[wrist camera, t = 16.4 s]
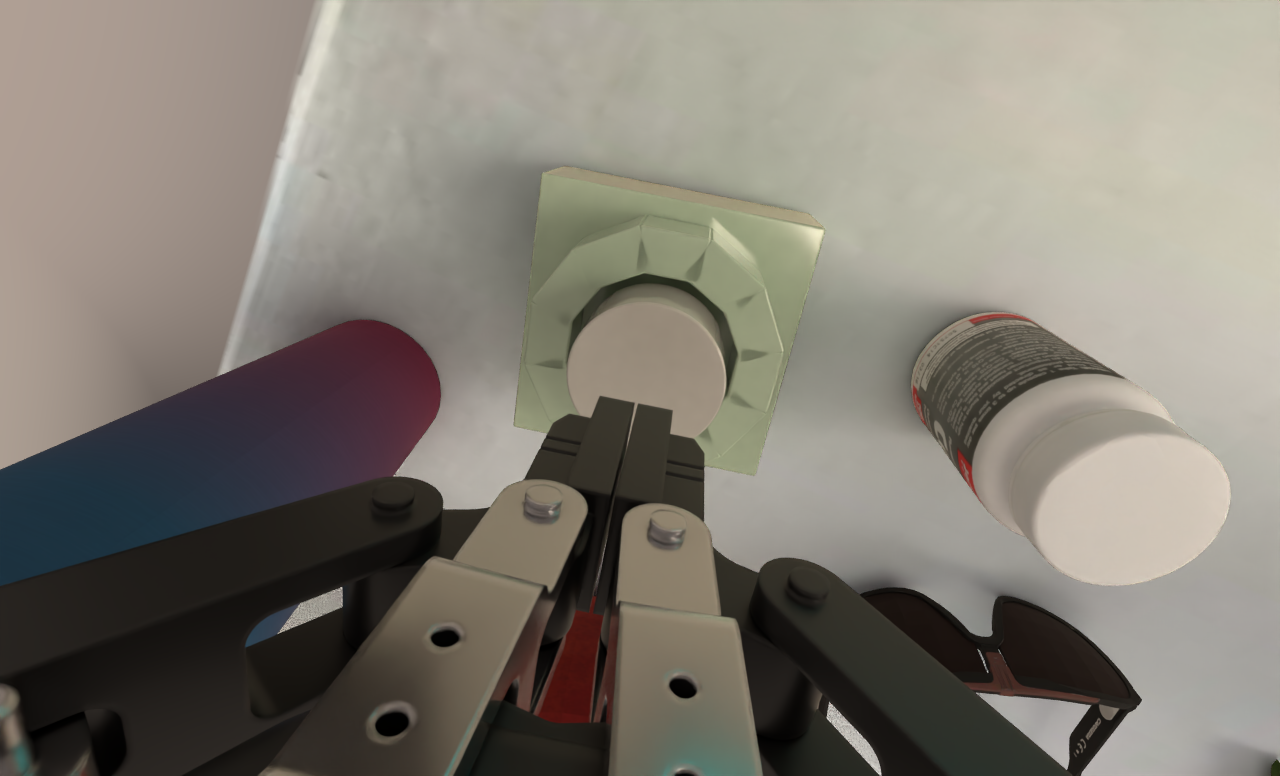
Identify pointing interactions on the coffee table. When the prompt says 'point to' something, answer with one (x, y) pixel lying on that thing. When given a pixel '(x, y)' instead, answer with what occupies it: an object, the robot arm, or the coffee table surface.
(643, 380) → the beige button cap
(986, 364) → the pill bottle
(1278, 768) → the decorative ornament
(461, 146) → the coffee table surface
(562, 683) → the apple
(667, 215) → the button base
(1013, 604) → the sunglasses
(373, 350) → the cup
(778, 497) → the coffee table surface
